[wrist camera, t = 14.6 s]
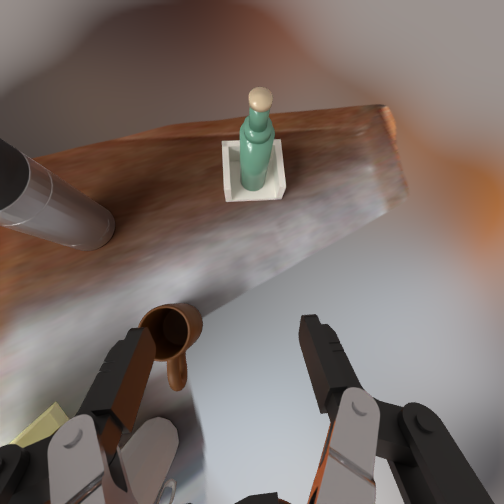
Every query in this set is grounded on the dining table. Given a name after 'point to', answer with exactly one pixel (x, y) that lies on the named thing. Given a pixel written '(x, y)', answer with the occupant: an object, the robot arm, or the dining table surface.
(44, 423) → the slatted curved stool
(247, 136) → the green bottle
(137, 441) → the water bottle
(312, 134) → the dining table surface
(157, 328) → the mug
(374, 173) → the dining table surface
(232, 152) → the holder
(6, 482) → the robot arm
